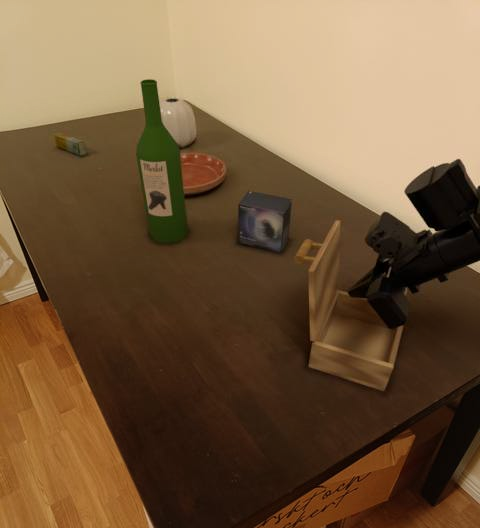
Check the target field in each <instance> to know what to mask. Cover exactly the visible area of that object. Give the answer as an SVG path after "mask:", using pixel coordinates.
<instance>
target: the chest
mask: <svg viewBox="0 0 480 528" xmlns="http://www.w3.org/2000/svg"><path fill="white" fill-rule="evenodd" d="M404 326H405V325H403V326H400V327H397V328H394V329H389V328H388V327H387V326H386V324H385V323H384V322H383V320H382V319H381V318H380V317H379V315H378V314H377V313H376V312H375V310H374V309H373V308H372V307H371V305H370V304H369V303H368V301H367V299H365V298H354V297H350V296H349V294H348V291H344V290H339V289H338V290H337V292H336V295H335V297H334V299H333V302H332V304H331V306H330V308H329V311H328V313H327V315H326V318H325V320H324V322H323V325H322V327H321V329H320V331H319V334H318V336H317V338H316V341H315V342H313V341H312V343H311V349H310V354H309V360H308V366H307V367H308V368H310V369H314V370H317V371H320V372H323V373H325V374H328V375H332V376H335V377H339V378H341V379H344V380H348V381H350V382H354V383H356V384H360V385H362V386H366V387H369V388H372V389H375V390H378V391H381V392H385V391H386V389H387V386H388V383H389V381H390V379H391V375H392V373H393V371H394V366H395V363H396V358H397V356H398V355H397V354H398V351H399V346H400V342H401V338H402V334H403V329H404Z"/></svg>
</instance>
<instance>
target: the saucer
mask: <svg viewBox="0 0 480 528" xmlns="http://www.w3.org/2000/svg"><path fill="white" fill-rule="evenodd" d="M180 158H181V168H182V178H183V188H184V196H192V195H198V194H199V195H200V194H202V193H205V192H207V191H210V190H212V189H214V188H215V187H217V186H219V185H220V184H222V182H224V181H225V179H226V177H227V165H226V164H225V163H224V161H222V160H221V159H220V158H218V157H216V156H214V155H210V154H206V153H200V152H199V153H198V152H180Z"/></svg>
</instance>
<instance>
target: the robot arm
mask: <svg viewBox="0 0 480 528" xmlns="http://www.w3.org/2000/svg"><path fill="white" fill-rule="evenodd" d="M404 194H405V196H406V197H407V198H408V200H409V201H410V203H411V204H412V206H413V207H414V209H415V210H416V212H417V213H418V214H419V216H420V218H421V219H422V220H423V222H424V224H425V225H426V226H427V227H428V228H429V229H423V230H421V231H419V232H415V231H414V230H413V229H411V227H410V226H409V225H408V224H407V223H405V222H403V221H402V220H401V219H399V218H397V217H396V216H394V215H393V214H392V213H390V212H388V211H382V213H381V214H380V215H379V216H378V218H377V219H376V220H375V221H374V222H373V223H372V224H371V226H369V228H368V230H367V231H368V232H367V234H366V235H365V237H364V242H365V244H366V246H368V247H370V249H371V248H372V251H374V252H375V253H377V254H378V255H377V258H376V261H375V264H374V266H373V268H371V269H370V270H369V271H368V272H367V273H366V274H365V275H364V276H362V277H361V278H360V279H359V280H358V281H356V282H355V283H354V284H353V285H352V286H351V287H350V288H348V290H347V293H348V294H349V296H350V297H354V298H365V299H367V301H368V303H369V304H370V305H371V307H372V308H373V309H374V310H375V312H376V313H377V314H378V315H379V317H380V318H381V319H382V320H383V322H384V323H385V324H386V326H387V327H388V328H389V329H394V328H397V327H400V326H403V325H404V326H405V324H406V322H407V319H408V316H409V311H410V306H411V303H412V302H411V301H410V299H409V298H408V297H407V293H408V290H409V291H410V293H411V294H412V295H414V294H416V293H419V292H420V290H421V285H423V284H426V283H428V282H430V281H433V280H436V279H437V280H438V281H439V283H440V284H442V283H445V282H447V281H449V277H450V274H451V273H454V272H455V271H458V270H461V269H463V268H465V267H468V266H470V265H473V264H475V263H478V262H480V185H478V186H477V187H476V186H475V184H474V183H473V181H472V179H471V178H470V176H469V174H468V172H467V169H466V166H465V164H464V163H463V160H461V158H456V159H454V160H453V161H451V162H450V163H449V162H444V163H441V164H439V165H436V166H434V165H433V166H431V167H429V168H427V169H425V170H424V171H423V172H421V173H420V174H419V175H417V176H416V177H415V178H413V179H412V180H411V181H410V182H409V183H408V185H407V186H406V187H405V188H404ZM431 229H433V230H434V231H435V232H432V231H431ZM404 326H403V327H404Z"/></svg>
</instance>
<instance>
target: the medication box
mask: <svg viewBox="0 0 480 528" xmlns="http://www.w3.org/2000/svg"><path fill="white" fill-rule="evenodd" d="M53 135H54V141H55V147H57V148H58V149H61V150H64V151H66V152H69V153H71V154H74V155H77V156H79V157H83V156H86V155H87V148H86V141H84V140H81V139H79V138H76V137H74V136H71V135H68V134H66V133H62V132H58V133H54V134H53Z"/></svg>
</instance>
